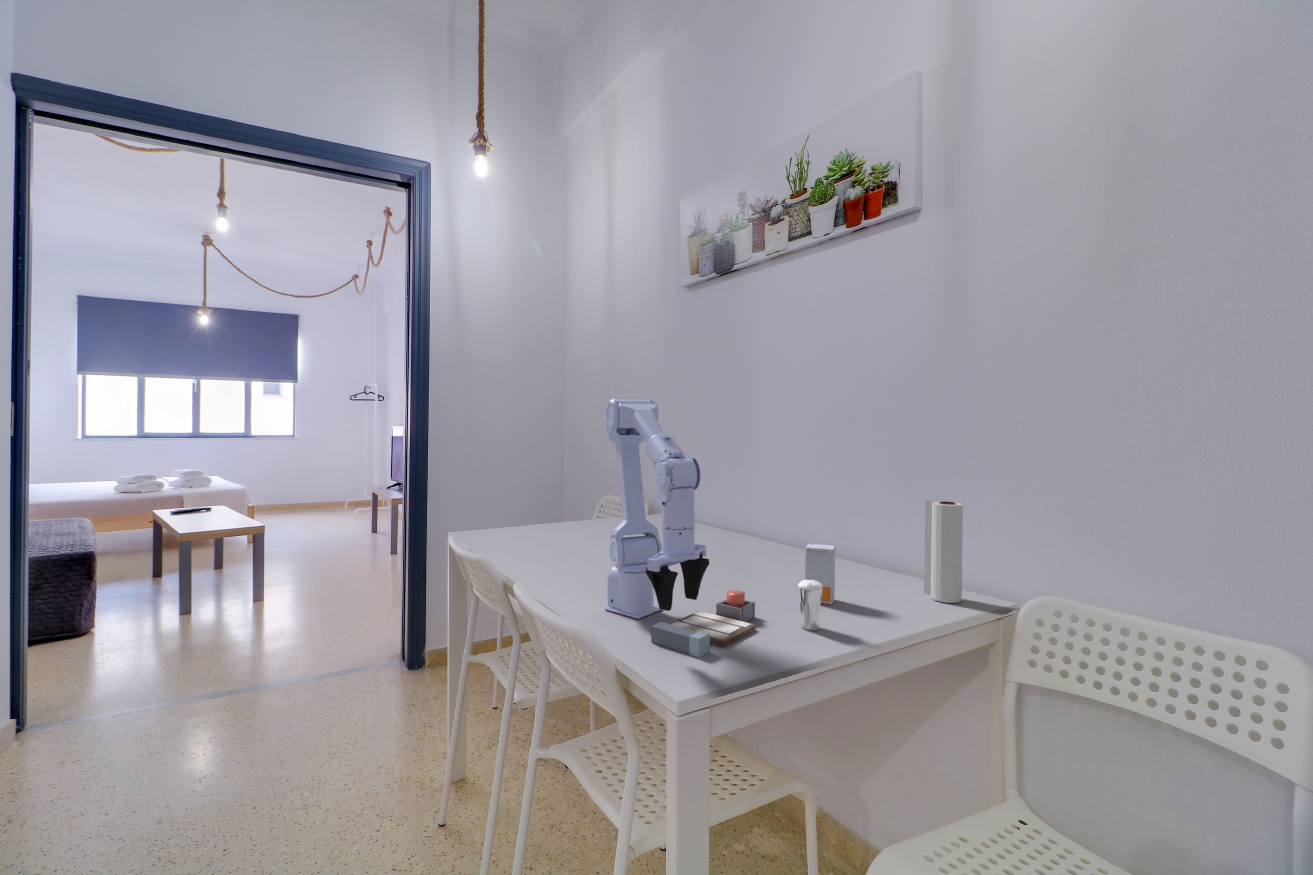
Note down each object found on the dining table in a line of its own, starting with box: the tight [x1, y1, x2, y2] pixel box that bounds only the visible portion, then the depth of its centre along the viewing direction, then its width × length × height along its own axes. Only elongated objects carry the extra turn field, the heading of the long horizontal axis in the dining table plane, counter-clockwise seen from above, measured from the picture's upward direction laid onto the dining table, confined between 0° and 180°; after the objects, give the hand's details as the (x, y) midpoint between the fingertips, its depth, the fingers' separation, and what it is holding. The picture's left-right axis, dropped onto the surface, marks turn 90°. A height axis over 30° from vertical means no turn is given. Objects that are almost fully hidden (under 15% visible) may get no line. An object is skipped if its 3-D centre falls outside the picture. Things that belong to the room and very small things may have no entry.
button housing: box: [715, 598, 756, 623], centre depth 121 cm, size 6×6×3 cm
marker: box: [649, 621, 711, 658], centre depth 106 cm, size 12×3×3 cm, turn 51°
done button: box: [726, 590, 746, 608], centre depth 121 cm, size 4×4×3 cm
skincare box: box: [804, 543, 836, 605], centre depth 131 cm, size 6×4×12 cm
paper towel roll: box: [923, 500, 964, 604], centre depth 132 cm, size 7×6×21 cm
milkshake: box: [797, 578, 827, 632], centre depth 114 cm, size 4×5×10 cm
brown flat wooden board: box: [670, 610, 756, 649], centre depth 114 cm, size 13×11×1 cm
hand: (678, 603), depth 106 cm, fingers open, 7 cm apart
